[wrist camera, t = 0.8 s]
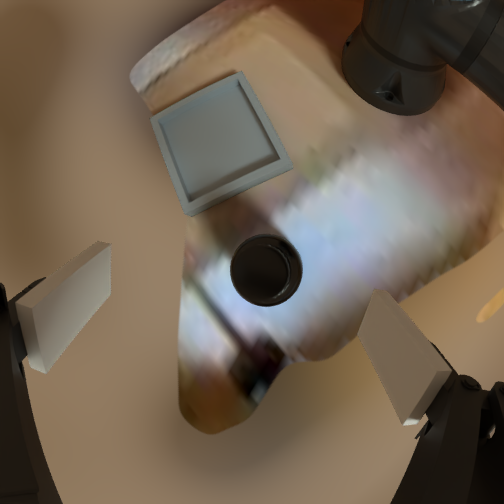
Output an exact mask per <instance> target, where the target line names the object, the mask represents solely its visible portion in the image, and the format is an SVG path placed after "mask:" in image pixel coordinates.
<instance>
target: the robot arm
mask: <svg viewBox="0 0 504 504" xmlns="http://www.w3.org/2000/svg"><path fill="white" fill-rule="evenodd" d="M447 64H448V65H450V66H451V67H453V68H454V69H455V70H457V71H458V72H459V73H461V74H462V75H463V76H464V77H465V78H467V79H468V80H469V81H470V82H472V83H473V84H474V85H475V86H476V87H478V88H479V89H480V90H481V91H482V92H483V93H485V94H486V95H487V96H488V97H489V98H490V99H491V100H492V101H494V102H495V103H496V104H497V105H498V106H499V107H500V108H501V109H502V110H503V111H504V0H365V1H364V7H363V14H362V20H361V23H360V24H359V25H358V26H357V27H356V29H355V30H354V31H353V32H352V34H351V35H350V36H349V37H348V39H347V40H346V42H345V45H344V47H343V53H342V69H343V73H344V75H345V78H346V80H347V81H348V83H349V84H350V86H351V87H352V88H353V90H354V91H355V92H356V93H357V94H358V95H359V96H360V97H362V98H363V99H364V100H365V101H367V102H368V103H370V104H371V105H373V106H375V107H377V108H379V109H381V110H383V111H386V112H389V113H392V114H397V115H404V116H411V115H418V114H422V113H424V112H426V111H428V110H429V109H431V108H432V107H433V106H434V105H435V104H436V102H437V101H438V100H439V98H440V97H441V95H442V93H443V90H444V87H445V74H446V67H447ZM110 295H111V244H110V243H105V242H99V241H97V242H96V243H95V244H93V245H92V246H90V247H89V248H87V249H86V250H84V251H83V252H81V253H80V254H79V255H77V256H76V257H75V258H73V259H72V260H70V261H69V262H67V263H66V264H65V265H63V266H62V267H61V268H59V269H58V270H56V271H55V272H54V273H52V274H51V275H50V276H48V277H47V278H46V277H44V278H42V279H39V280H37V281H34V282H33V283H32V284H30V285H29V286H28V288H27V287H26V288H25V289H24V290H22V292H20V293H18V294H17V295H16V296H15V297H13V298H12V299H11V300H10V301H8V302H7V297H6V291H5V287H4V285H3V284H2V283H0V504H63V503H62V501H61V498H60V496H59V494H58V491H57V489H56V486H55V484H54V481H53V479H52V476H51V473H50V470H49V468H48V465H47V462H46V459H45V456H44V453H43V449H42V446H41V443H40V440H39V436H38V432H37V429H36V425H35V421H34V417H33V413H32V408H31V404H30V399H29V394H28V389H27V384H26V378H25V372H24V367H23V364H22V360H23V359H24V358H25V357H26V356H27V357H28V360H29V363H30V367H31V368H33V369H35V370H38V371H40V372H43V373H45V374H47V373H48V371H49V370H50V369H51V367H52V366H53V365H54V363H55V362H56V361H57V359H58V358H59V357H60V356H61V354H62V353H63V352H64V350H65V349H66V348H67V346H68V345H69V344H70V343H71V342H72V340H73V339H74V338H75V337H76V335H77V334H78V332H80V330H81V329H82V328H83V327H84V325H85V324H86V323H87V322H88V320H89V319H90V318H91V317H92V316H93V315H94V313H95V312H96V311H97V310H98V308H100V306H101V305H102V304H103V303H104V302H105V300H106V299H107V298H108V297H109V296H110ZM357 335H358V337H359V339H360V341H361V343H362V345H363V347H364V349H365V351H366V352H367V354H368V356H369V358H370V360H371V362H372V364H373V366H374V368H375V370H376V372H377V374H378V376H379V378H380V380H381V382H382V384H383V386H384V388H385V390H386V392H387V394H388V396H389V398H390V400H391V402H392V405H393V407H394V409H395V411H396V413H397V415H398V417H399V419H400V421H401V424H402V425H412V424H418V422H419V421H420V420H421V418H422V417H423V415H424V414H425V413H426V415H427V417H428V419H429V420H428V421H427V422H426V424H425V425H424V426H423V428H422V429H421V431H420V432H419V433H418V434H417V436H416V437H415V439H417V438H418V437H419V436H420V438H419V441H418V443H417V446H416V449H415V451H414V453H413V456H412V458H411V461H410V463H409V465H408V468H407V470H406V472H405V475H404V477H403V479H402V481H401V483H400V485H399V487H398V489H397V491H396V493H395V495H394V497H393V499H392V501H391V503H390V504H504V382H499V381H498V382H496V383H495V385H494V386H493V387H492V389H491V390H490V391H487V390H482V388H481V386H480V384H479V383H478V382H477V381H476V380H475V379H473V378H472V377H470V376H467V375H458V374H457V372H456V371H455V370H454V369H453V367H452V366H451V365H450V363H449V362H448V361H447V360H446V359H445V357H444V356H443V354H441V352H440V351H439V349H438V348H437V347H436V346H435V345H434V344H433V343H431V342H430V341H429V340H428V339H427V338H426V337H425V336H424V335H423V333H422V332H421V331H420V329H419V328H418V327H417V326H416V325H415V323H414V322H413V321H412V320H411V319H410V317H409V316H408V315H407V314H406V313H405V311H404V310H403V309H402V308H401V307H400V306H399V304H398V303H397V302H396V301H395V300H394V299H393V297H392V296H391V295H390V294H389V293H388V292H387V291H384V290H378V289H374V291H373V294H372V297H371V300H370V302H369V305H368V308H367V310H366V313H365V316H364V318H363V321H362V324H361V326H360V329H359V331H358V334H357ZM494 428H495V433H494V434H493V436H492V438H490V433H491V432H492V430H493V429H494Z"/></svg>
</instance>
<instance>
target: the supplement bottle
mask: <svg viewBox="0 0 504 504" xmlns="http://www.w3.org/2000/svg"><path fill="white" fill-rule="evenodd" d="M302 274H303V265H302V260H301V257H300V254H299V252H298V251H297V249H296V248H295V247H294V246H293V245H292V244H291V243H290V242H288V241H287V240H285V239H284V238H282V237H279V236H276V235H271V234H261V235H256V236H253V237H251V238H249V239H247V240H246V241H244V242H243V243H242V244H241V245H240V246H239V247H238V248H237V250H236V251H235V253H234V255H233V257H232V260H231V265H230V275H231V280H232V283H233V286H234V288H235V289H236V291H237V292H238V294H239V295H240V296H241V297H242V298H243V299H245V300H246V301H248V302H250V303H252V304H254V305H257V306H262V307H270V306H276V305H279V304H281V303H283V302H285V301H287V300H288V299H289V298H290V297H291V296H292V295H293V294H294V293H295V292H296V290H297V289H298V287H299V285H300V282H301V279H302Z"/></svg>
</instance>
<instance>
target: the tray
mask: <svg viewBox="0 0 504 504" xmlns="http://www.w3.org/2000/svg"><path fill="white" fill-rule="evenodd" d="M150 121H151V124H152V127H153V130H154V133H155V136H156V139H157V142H158V144H159V147H160V150H161V153H162V156H163V158H164V161H165V164H166V167H167V169H168V172H169V175H170V177H171V180H172V183H173V185H174V188H175V191H176V193H177V196H178V198H179V201H180V204H181V206H182V209H183V211H184V214H185V215H188V216H191V217H192V216H194V215H196V214H198V213H200V212H202V211H204V210H206V209H208V208H210V207H212V206H214V205H216V204H218V203H220V202H222V201H224V200H227V199H229V198H231V197H233V196H235V195H237V194H239V193H241V192H243V191H245V190H248V189H250V188H252V187H254V186H256V185H258V184H260V183H263V182H265V181H267V180H269V179H271V178H274V177H276V176H278V175H280V174H282V173H285V172H287V171H289V170H291V169H293V165H292V162H291V160H290V158H289V156H288V154H287V152H286V150H285V148H284V146H283V144H282V142H281V140H280V138H279V136H278V135H277V133H276V131H275V129H274V127H273V125H272V123H271V121H270V120H269V118H268V116H267V114H266V112H265V110H264V109H263V107H262V105H261V103H260V101H259V100H258V98H257V96H256V94H255V93H254V91H253V89H252V87H251V86H250V84H249V82H248V80H247V79H246V77H245V75H244V74H243V72H242V71H240V72H238V73H236V74H233V75H231V76H229V77H227V78H225V79H222V80H220V81H218V82H216V83H214V84H212V85H210V86H208V87H206V88H204V89H202V90H200V91H198V92H196V93H194V94H192V95H190V96H188V97H186V98H184V99H183V100H181V101H179V102H177V103H175V104H173V105H172V106H170V107H168V108H166V109H164V110H163V111H161V112H159V113H158V114H156V115H154V116H152V117H151V118H150Z"/></svg>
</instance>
